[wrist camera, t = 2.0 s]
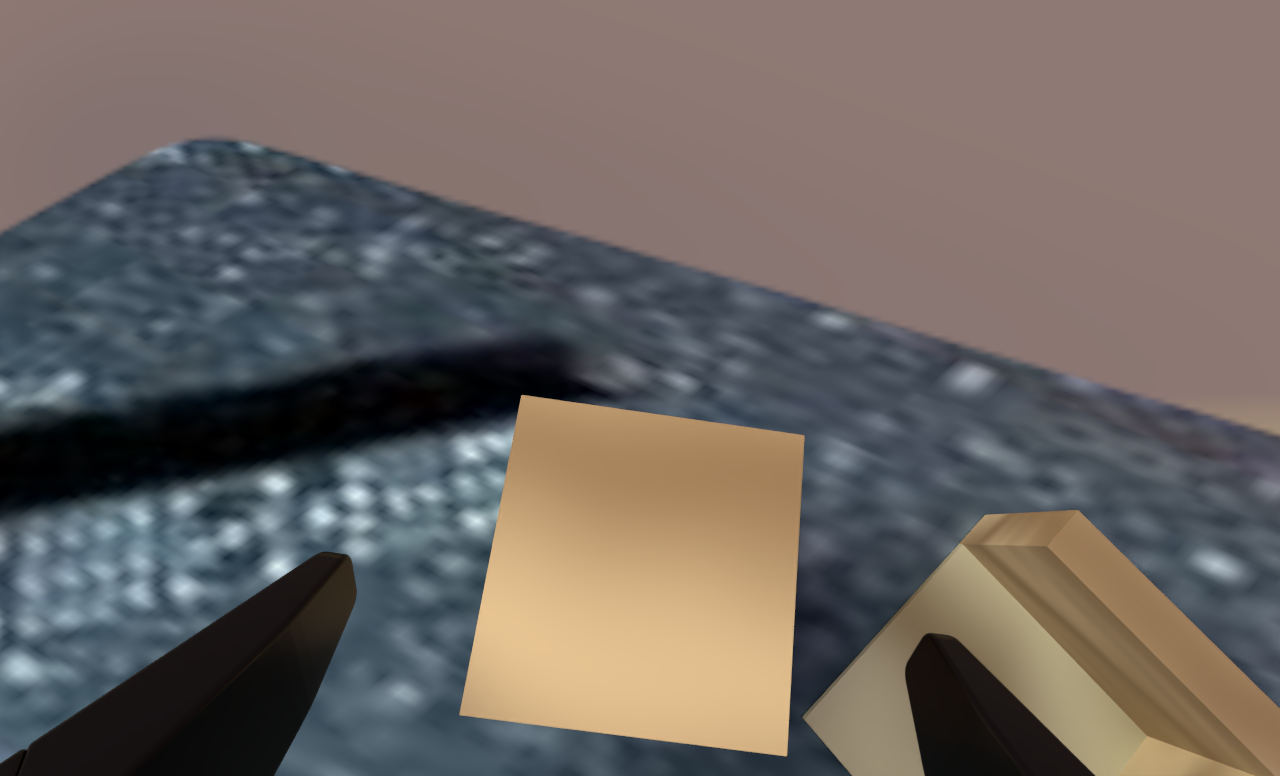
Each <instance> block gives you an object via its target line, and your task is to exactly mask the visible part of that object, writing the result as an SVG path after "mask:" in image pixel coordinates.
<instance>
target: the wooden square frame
mask: <svg viewBox="0 0 1280 776" xmlns="http://www.w3.org/2000/svg"><path fill="white" fill-rule="evenodd" d="M927 633H937V634H944V635H950V636H953V637H955V638H956V639H958V640H959V641H960V642H961V643H962V644H963V645H964V646H965V647H966V648H967V649H968V650H969V651H970V652H971V653H972V654H973V655H974V656H975V657H976V658H977V659H978V660H979V661H980V662H981V663H982V664H983V665H984V666H985V667H986V668H987V669H988V670H989V671H990V672H991V673H992V674H993V675H994V676H995V677H996V678H997V679H998V680H999V681H1000V682H1001V683H1002V684H1003V685H1004V686H1006V687H1007V688H1008V689H1009V690H1010V691H1011V692H1012V693H1013V694H1014V695H1015V696H1016V697H1017V698H1018V699H1019V700H1020V701H1021V702H1022V703H1023V704H1024V705H1025V706H1026V707H1027V708H1028V709H1029V710H1030V711H1031V712H1032V713H1033V714H1034V715H1035V716H1036V717H1037V718H1038V719H1039V720H1040V721H1041V722H1042V723H1043V724H1044V725H1045V726H1046V727H1047V728H1048V729H1049V730H1050V731H1051V732H1052V733H1053V734H1054V735H1055V736H1056V737H1057V738H1058V739H1059V740H1060V741H1061V742H1062V743H1063V744H1064V745H1065V746H1066V747H1067V748H1068V749H1069V750H1070V751H1071V752H1072V753H1073V754H1074V755H1075V756H1076V757H1077V758H1078V759H1079V760H1080V761H1081V762H1082V763H1083V764H1084V765H1085V766H1086V767H1087V768H1088V769H1089V770H1090V771H1091V772H1092V773H1093V774H1094V775H1095V776H1280V708H1278V707H1277V706H1276V705H1275V704H1274V703H1273V702H1272V701H1271V700H1270V699H1269V698H1268V697H1267V696H1266V695H1265V694H1264V693H1263V692H1262V691H1261V690H1260V689H1259V688H1258V687H1257V686H1256V685H1255V684H1254V683H1253V682H1252V681H1251V680H1250V679H1249V678H1248V677H1247V676H1246V675H1245V674H1244V673H1243V672H1242V671H1241V670H1240V669H1239V668H1238V667H1237V666H1236V665H1235V664H1234V663H1233V662H1232V661H1231V660H1230V659H1229V658H1228V657H1227V656H1226V655H1225V654H1224V653H1223V652H1222V651H1221V650H1220V649H1219V648H1218V647H1217V646H1216V645H1215V644H1213V643H1212V642H1211V641H1210V640H1209V639H1208V638H1207V637H1206V636H1205V635H1204V634H1203V633H1202V632H1201V631H1200V630H1199V629H1198V628H1197V627H1196V626H1195V625H1194V624H1193V623H1192V622H1191V621H1190V620H1189V619H1188V618H1187V617H1186V616H1185V615H1184V614H1183V613H1182V612H1181V611H1180V610H1179V609H1178V608H1177V607H1176V606H1175V605H1174V604H1173V603H1172V602H1171V601H1170V600H1169V599H1168V598H1167V597H1166V596H1165V595H1164V594H1163V593H1162V592H1161V591H1160V590H1159V589H1158V588H1157V587H1156V586H1155V585H1154V584H1153V583H1152V582H1151V581H1149V580H1148V579H1147V578H1146V577H1145V576H1144V575H1143V574H1142V573H1141V572H1140V571H1139V570H1138V569H1137V568H1136V567H1135V566H1134V565H1133V564H1132V563H1131V562H1130V561H1129V560H1128V559H1127V558H1126V557H1125V556H1124V555H1123V554H1122V553H1121V552H1120V551H1119V550H1118V549H1117V548H1116V547H1115V546H1114V545H1113V544H1112V543H1111V542H1110V541H1109V540H1108V539H1107V538H1106V537H1105V536H1104V535H1103V534H1102V533H1101V532H1100V531H1099V530H1098V529H1097V528H1096V527H1095V526H1094V525H1093V524H1092V523H1091V522H1090V521H1089V520H1088V519H1087V518H1086V517H1084V516H1083V515H1082V514H1081V513H1080V512H1079V511H1078V510H1069V511H1050V512H1031V513H1012V514H993V515H985V516H984V517H983V518H982V519H981V520H980V521H979V522H978V523H977V525H976V526H975V527H974V528H973V529H972V530H971V531H970V532H969V533H968V534H967V536H966V537H965V538H964V539H963V540H962V541H961V542H960V543H959V544H958V545H957V547H956V548H955V549H954V550H953V551H952V552H951V553H950V554H949V555H948V557H947V558H946V559H945V560H944V561H943V562H942V563H941V564H940V565H939V566H938V568H937V569H936V570H935V571H934V572H933V573H932V574H931V575H930V576H929V578H928V579H927V580H926V581H925V582H924V583H923V584H922V585H921V586H920V587H919V589H918V590H917V591H916V592H915V593H914V594H913V595H912V596H911V597H910V598H909V600H908V601H907V602H906V603H905V604H904V605H903V606H902V607H901V608H900V610H899V611H898V612H897V613H896V614H895V615H894V616H893V617H892V618H891V619H890V621H889V622H888V623H887V624H886V625H885V626H884V627H883V628H882V629H881V630H880V632H879V633H878V634H877V635H876V636H875V637H874V638H873V639H872V640H871V642H870V643H869V644H868V645H867V646H866V647H865V648H864V649H863V650H862V651H861V653H860V654H859V655H858V656H857V657H856V658H855V659H854V660H853V661H852V662H851V664H850V665H849V666H848V667H847V668H846V669H845V670H844V671H843V672H842V674H841V675H840V676H839V677H838V678H837V679H836V680H835V681H834V682H833V683H832V685H831V686H830V687H829V688H828V689H827V690H826V691H825V692H824V693H823V694H822V696H821V697H820V698H819V699H818V700H817V701H816V702H815V703H814V704H813V706H812V707H811V708H810V709H809V710H808V711H807V712H806V713H805V714H804V715H803V717H802V718H803V719H804V720H805V721H806V722H807V724H808V725H809V726H810V727H811V728H812V729H813V731H814V732H815V733H816V734H817V735H818V737H819V738H820V739H821V740H822V741H823V742H824V744H825V745H826V746H827V747H828V748H829V749H830V751H831V752H832V753H833V754H834V755H835V756H836V758H837V759H838V760H839V761H840V762H841V763H842V765H843V766H844V767H845V768H846V769H847V770H848V772H849V773H850V774H851V775H852V776H925V775H924V771H923V766H922V761H921V756H920V751H919V746H918V741H917V736H916V731H915V726H914V721H913V716H912V711H911V706H910V701H909V696H908V691H907V686H906V680H905V667H906V664H907V661H908V660H909V658H910V656H911V655H912V653H913V651H914V650H915V648H916V647H917V645H918V643H919V642H920V640H921V638H922V637H923V636H924V635H925V634H927Z"/></svg>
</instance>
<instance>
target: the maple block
mask: <svg viewBox="0 0 1280 776" xmlns="http://www.w3.org/2000/svg"><path fill="white" fill-rule="evenodd" d="M803 452H804V435H798V434H791V433H784V432H777V431H770V430H763V429H756V428H749V427H742V426H735V425H728V424H721V423H714V422H707V421H700V420H693V419H686V418H679V417H672V416H665V415H658V414H651V413H644V412H637V411H630V410H623V409H616V408H609V407H602V406H595V405H588V404H581V403H574V402H567V401H560V400H553V399H546V398H539V397H532V396H525V395H521V400H520V406H519V411H518V416H517V421H516V426H515V431H514V437H513V442H512V447H511V452H510V457H509V462H508V468H507V473H506V478H505V483H504V488H503V493H502V498H501V504H500V509H499V514H498V519H497V524H496V529H495V535H494V540H493V545H492V550H491V555H490V560H489V566H488V571H487V576H486V581H485V586H484V591H483V596H482V602H481V607H480V612H479V617H478V622H477V627H476V633H475V638H474V643H473V648H472V653H471V658H470V664H469V669H468V674H467V679H466V684H465V689H464V695H463V700H462V705H461V710H460V715H463V716H471V717H479V718H486V719H494V720H502V721H510V722H518V723H526V724H534V725H542V726H550V727H558V728H566V729H574V730H582V731H590V732H597V733H605V734H613V735H621V736H629V737H637V738H645V739H653V740H661V741H669V742H677V743H685V744H693V745H701V746H708V747H716V748H724V749H732V750H740V751H748V752H756V753H764V754H772V755H780V756H787V747H788V729H789V710H790V692H791V673H792V655H793V636H794V618H795V600H796V581H797V563H798V544H799V526H800V508H801V489H802V471H803Z"/></svg>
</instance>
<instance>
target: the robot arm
mask: <svg viewBox="0 0 1280 776" xmlns="http://www.w3.org/2000/svg"><path fill="white" fill-rule="evenodd" d="M356 594H357V589H356V583H355V577H354V571H353V565H352V560H351V558H350V557H349V556H348V555H346V554H341V553H334V552H321V553H318V554H316V555H314V556H313V557H311V558H310V559H308V560H307V561H305V562H304V563H302V564H301V565H299V566H298V567H296V568H295V569H293V570H292V571H290V572H289V573H287V574H286V575H284V576H283V577H281V578H280V579H278V580H277V581H275V582H274V583H272V584H271V585H269V586H268V587H266V588H265V589H263V590H262V591H260V592H259V593H257V594H256V595H254V596H253V597H251V598H250V599H248V600H247V601H245V602H244V603H242V604H240V605H239V606H237V607H236V608H234V609H233V610H231V611H230V612H228V613H227V614H225V615H224V616H222V617H221V618H219V619H218V620H216V621H215V622H213V623H212V624H210V625H209V626H207V627H206V628H204V629H203V630H201V631H200V632H198V633H197V634H195V635H194V636H192V637H191V638H189V639H188V640H186V641H185V642H183V643H182V644H180V645H179V646H177V647H176V648H174V649H173V650H171V651H170V652H168V653H167V654H165V655H164V656H162V657H161V658H159V659H158V660H156V661H154V662H153V663H151V664H150V665H148V666H147V667H145V668H144V669H142V670H141V671H139V672H138V673H136V674H135V675H133V676H132V677H130V678H129V679H127V680H126V681H124V682H123V683H121V684H120V685H118V686H117V687H115V688H114V689H112V690H111V691H109V692H108V693H106V694H105V695H103V696H102V697H100V698H99V699H97V700H96V701H94V702H93V703H91V704H90V705H88V706H87V707H85V708H84V709H82V710H81V711H79V712H78V713H76V714H75V715H73V716H72V717H70V718H69V719H67V720H65V721H64V722H62V723H61V724H59V725H58V726H56V727H55V728H53V729H52V730H50V731H49V732H47V733H46V734H44V735H43V736H41V737H40V738H38V739H37V740H35V741H34V742H32V743H31V744H30V745H29V747H28V749H27V750H26V749H23V750H20V751H18V752H17V753H15V754H14V755H12V756H11V757H9V758H8V759H6V760H5V761H3V762H2V763H0V776H274V775H275V773H276V771H277V769H278V767H279V766H280V764H281V762H282V760H283V758H284V756H285V755H286V753H287V751H288V749H289V747H290V745H291V743H292V742H293V740H294V738H295V736H296V734H297V732H298V731H299V729H300V727H301V725H302V723H303V721H304V719H305V717H306V715H307V713H308V711H309V710H310V708H311V706H312V703H313V701H314V699H315V697H316V694H317V692H318V690H319V688H320V685H321V683H322V680H323V678H324V676H325V673H326V671H327V669H328V666H329V664H330V661H331V659H332V657H333V654H334V652H335V650H336V647H337V645H338V642H339V640H340V638H341V635H342V633H343V631H344V628H345V626H346V623H347V621H348V619H349V616H350V614H351V612H352V609H353V607H354V604H355V600H356ZM905 680H906V686H907V691H908V696H909V701H910V706H911V711H912V716H913V721H914V726H915V731H916V736H917V741H918V746H919V751H920V756H921V761H922V766H923V771H924V775H925V776H1095V775H1094V774H1093V773H1092V772H1091V771H1090V770H1089V769H1088V768H1087V767H1086V766H1085V765H1084V764H1083V763H1082V762H1081V761H1080V760H1079V759H1078V758H1077V757H1076V756H1075V755H1074V754H1073V753H1072V752H1071V751H1070V750H1069V749H1068V748H1067V747H1066V746H1065V745H1064V744H1063V743H1062V742H1061V741H1060V740H1059V739H1058V738H1057V737H1056V736H1055V735H1054V734H1053V733H1052V732H1051V731H1050V730H1049V729H1048V728H1047V727H1046V726H1045V725H1044V724H1043V723H1042V722H1041V721H1040V720H1039V719H1038V718H1037V717H1036V716H1035V715H1034V714H1033V713H1032V712H1031V711H1030V710H1029V709H1028V708H1027V707H1026V706H1025V705H1024V704H1023V703H1022V702H1021V701H1020V700H1019V699H1018V698H1017V697H1016V696H1015V695H1014V694H1013V693H1012V692H1011V691H1010V690H1009V689H1008V688H1007V687H1006V686H1004V685H1003V684H1002V683H1001V682H1000V681H999V680H998V679H997V678H996V677H995V676H994V675H993V674H992V673H991V672H990V671H989V670H988V669H987V668H986V667H985V666H984V665H983V664H982V663H981V662H980V661H979V660H978V659H977V658H976V657H975V656H974V655H973V654H972V653H971V652H970V651H969V650H968V649H967V648H966V647H965V646H964V645H963V644H962V643H961V642H960V641H959V640H958V639H956V638H955V637H953V636H950V635H944V634H937V633H927V634H925V635H924V636H923V637H922V638H921V640H920V642H919V643H918V645H917V647H916V648H915V650H914V651H913V653H912V655H911V656H910V658H909V660H908V661H907V664H906V667H905Z"/></svg>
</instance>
